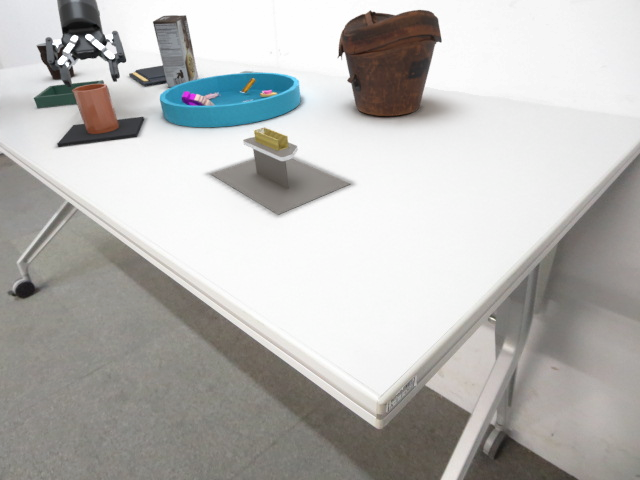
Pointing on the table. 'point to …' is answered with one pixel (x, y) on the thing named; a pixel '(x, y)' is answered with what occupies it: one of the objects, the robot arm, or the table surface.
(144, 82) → the wallet
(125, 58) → the robot arm
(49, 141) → the table surface
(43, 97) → the compartment
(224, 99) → the blue plastic shallow tray
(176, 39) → the coffee box
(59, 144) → the mat
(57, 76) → the coffee mug
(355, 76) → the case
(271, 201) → the platform
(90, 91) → the cup
